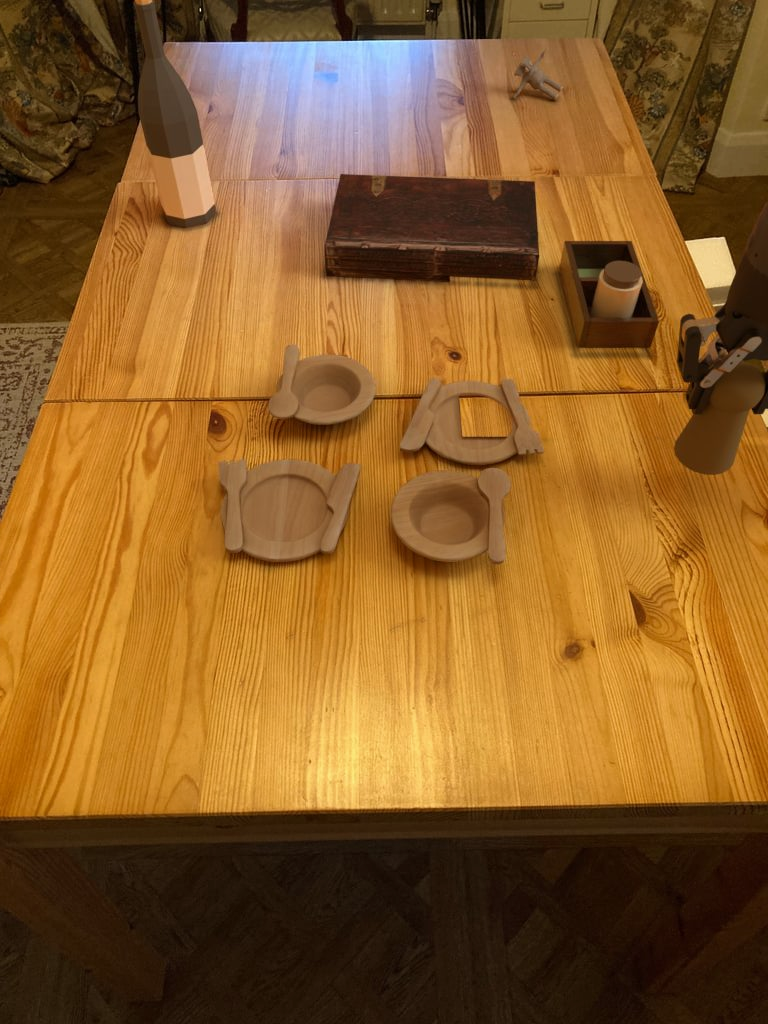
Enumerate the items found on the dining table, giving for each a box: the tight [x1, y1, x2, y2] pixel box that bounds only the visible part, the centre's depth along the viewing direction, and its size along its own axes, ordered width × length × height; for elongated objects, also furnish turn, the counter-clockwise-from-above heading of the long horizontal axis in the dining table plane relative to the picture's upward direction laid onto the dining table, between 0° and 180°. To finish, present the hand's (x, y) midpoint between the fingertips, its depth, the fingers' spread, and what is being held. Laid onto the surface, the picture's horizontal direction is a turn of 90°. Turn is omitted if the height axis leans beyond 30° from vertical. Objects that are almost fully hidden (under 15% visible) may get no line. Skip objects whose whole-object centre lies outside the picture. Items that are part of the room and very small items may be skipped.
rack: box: [559, 240, 660, 349], centre depth 101 cm, size 9×17×5 cm, turn 0°
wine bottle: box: [133, 0, 216, 229], centre depth 106 cm, size 8×8×30 cm
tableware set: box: [218, 344, 545, 565], centre depth 84 cm, size 35×29×4 cm
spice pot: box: [589, 261, 643, 318], centre depth 96 cm, size 5×5×8 cm
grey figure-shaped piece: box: [512, 48, 564, 101], centre depth 141 cm, size 10×6×9 cm
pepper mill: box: [673, 361, 766, 476], centre depth 75 cm, size 6×6×11 cm
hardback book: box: [324, 173, 540, 282], centre depth 111 cm, size 29×19×5 cm, turn 85°
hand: (725, 407), depth 74 cm, fingers closed on pepper mill, 5 cm apart
